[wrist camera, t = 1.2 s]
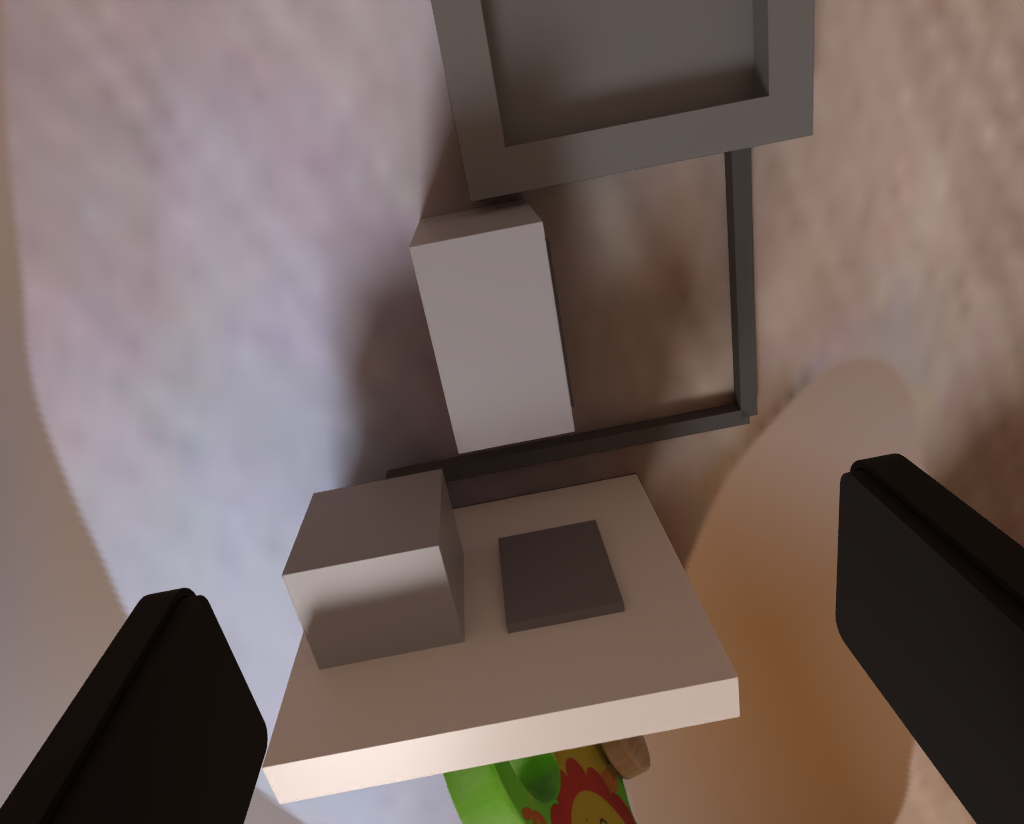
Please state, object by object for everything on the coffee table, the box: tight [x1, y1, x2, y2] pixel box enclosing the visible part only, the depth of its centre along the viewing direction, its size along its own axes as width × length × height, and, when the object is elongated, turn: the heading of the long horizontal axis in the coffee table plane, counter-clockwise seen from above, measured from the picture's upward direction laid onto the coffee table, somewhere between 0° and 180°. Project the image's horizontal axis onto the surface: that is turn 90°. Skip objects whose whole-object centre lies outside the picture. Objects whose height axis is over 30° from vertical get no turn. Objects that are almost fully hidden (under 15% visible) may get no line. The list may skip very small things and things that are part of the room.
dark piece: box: [386, 147, 757, 482], centre depth 25 cm, size 16×11×4 cm
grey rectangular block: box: [409, 199, 575, 454], centre depth 24 cm, size 4×7×6 cm, turn 10°
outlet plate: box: [262, 469, 740, 804], centre depth 24 cm, size 14×6×12 cm, turn 100°
